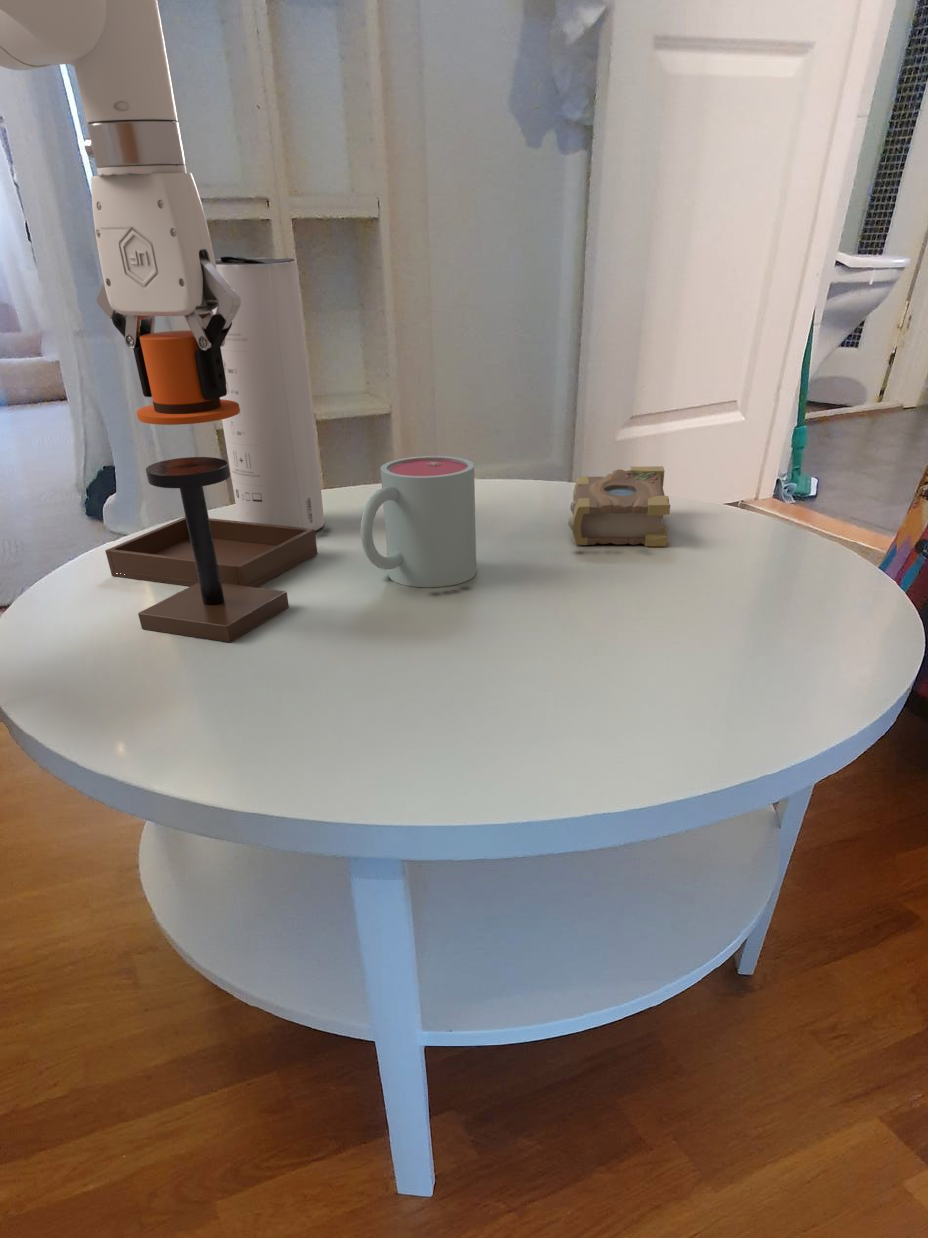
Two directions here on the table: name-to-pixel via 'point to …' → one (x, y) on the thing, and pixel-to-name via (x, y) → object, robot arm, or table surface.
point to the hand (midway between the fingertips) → (185, 394)
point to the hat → (177, 382)
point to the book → (620, 508)
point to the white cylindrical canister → (270, 397)
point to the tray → (239, 551)
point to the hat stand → (206, 566)
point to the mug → (425, 521)
